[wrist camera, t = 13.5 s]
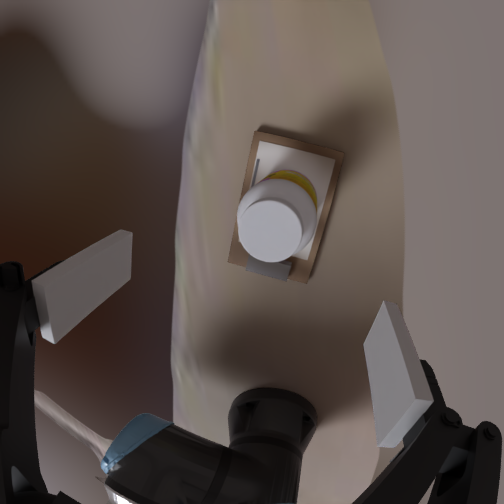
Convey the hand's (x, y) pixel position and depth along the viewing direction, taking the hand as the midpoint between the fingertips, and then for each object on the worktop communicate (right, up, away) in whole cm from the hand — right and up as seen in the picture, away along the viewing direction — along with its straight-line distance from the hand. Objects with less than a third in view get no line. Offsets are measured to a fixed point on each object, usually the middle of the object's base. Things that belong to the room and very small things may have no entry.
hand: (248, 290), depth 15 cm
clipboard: (+4, +7, +20) cm, 22 cm away
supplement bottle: (+4, +8, +19) cm, 21 cm away
